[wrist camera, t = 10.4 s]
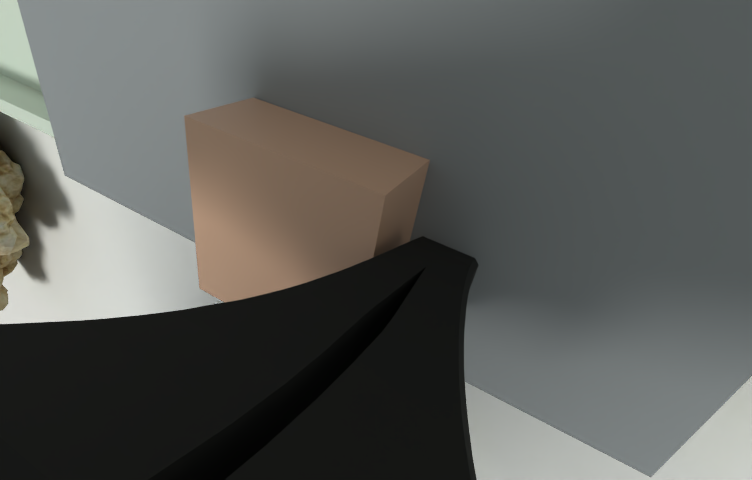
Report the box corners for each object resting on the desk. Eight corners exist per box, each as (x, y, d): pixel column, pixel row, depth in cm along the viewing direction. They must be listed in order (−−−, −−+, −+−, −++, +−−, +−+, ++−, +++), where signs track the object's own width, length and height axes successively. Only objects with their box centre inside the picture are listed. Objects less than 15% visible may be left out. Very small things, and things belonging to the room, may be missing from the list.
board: (648, 395, 11) (650, 477, 9) (127, 155, 18) (64, 175, 16) (1327, -432, 4) (1923, -801, 2) (39, -340, 10) (-97, -417, 9)
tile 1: (389, 320, 11) (350, 372, 10) (253, 252, 12) (199, 288, 11) (429, 160, 9) (385, 195, 7) (253, 97, 10) (184, 115, 8)
